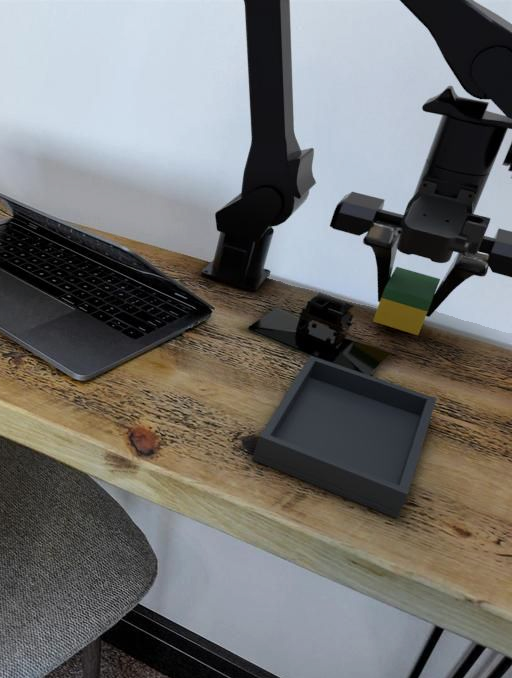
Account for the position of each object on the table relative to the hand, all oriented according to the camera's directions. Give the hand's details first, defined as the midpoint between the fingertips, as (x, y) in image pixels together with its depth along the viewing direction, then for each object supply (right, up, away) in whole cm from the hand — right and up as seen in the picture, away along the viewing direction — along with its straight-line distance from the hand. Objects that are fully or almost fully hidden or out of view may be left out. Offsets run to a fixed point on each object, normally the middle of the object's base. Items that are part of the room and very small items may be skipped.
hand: (403, 307), depth 87 cm
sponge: (0, -1, +1) cm, 1 cm away
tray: (-14, -12, -18) cm, 26 cm away
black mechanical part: (-11, -4, -4) cm, 12 cm away
